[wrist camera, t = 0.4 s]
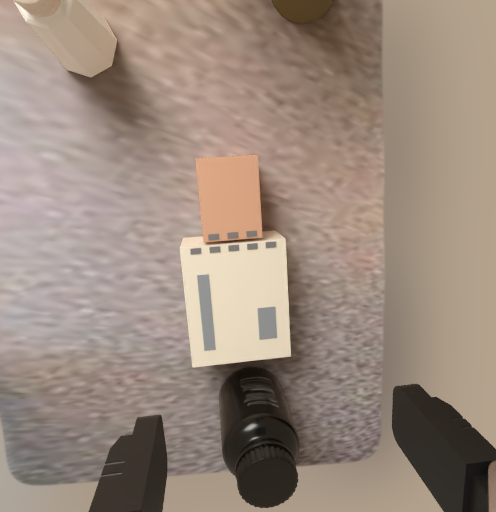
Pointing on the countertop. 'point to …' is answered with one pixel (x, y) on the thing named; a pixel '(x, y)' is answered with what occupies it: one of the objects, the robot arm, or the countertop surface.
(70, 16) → the salt shaker
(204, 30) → the countertop surface
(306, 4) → the brown pawn
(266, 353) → the cream box
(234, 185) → the orange box
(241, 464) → the supplement bottle
